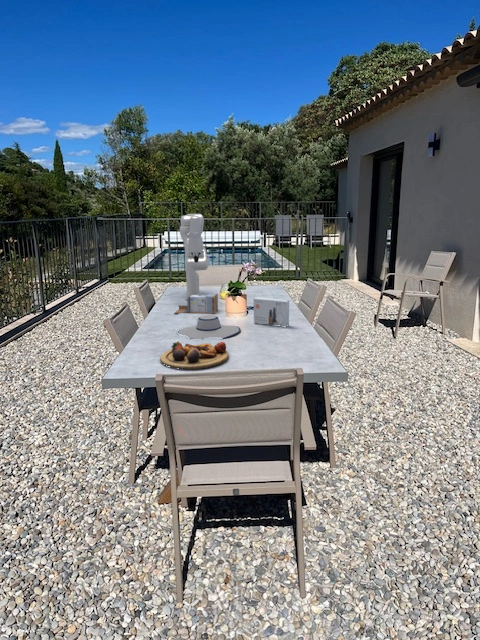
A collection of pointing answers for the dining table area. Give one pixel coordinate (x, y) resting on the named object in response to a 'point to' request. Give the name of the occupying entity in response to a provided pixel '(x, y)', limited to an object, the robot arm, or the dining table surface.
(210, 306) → the book
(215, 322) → the sun hat
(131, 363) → the dining table surface
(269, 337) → the dining table surface
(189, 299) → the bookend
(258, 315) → the skincare box
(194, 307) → the light bulb box
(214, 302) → the shelf
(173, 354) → the wooden plate with food
